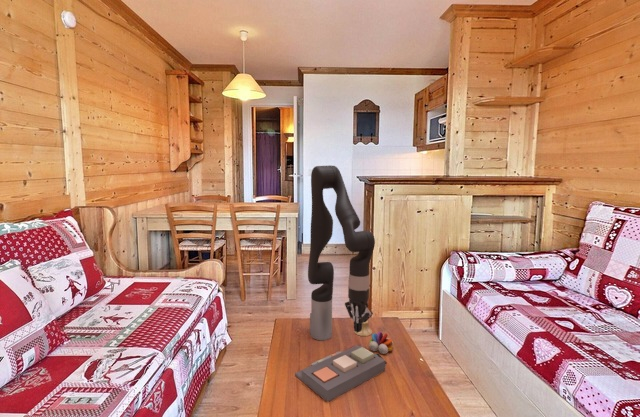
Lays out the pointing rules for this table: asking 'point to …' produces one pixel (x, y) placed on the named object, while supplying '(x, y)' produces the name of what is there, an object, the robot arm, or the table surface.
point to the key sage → (362, 355)
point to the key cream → (344, 364)
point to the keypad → (340, 374)
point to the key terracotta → (325, 374)
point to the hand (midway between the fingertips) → (357, 331)
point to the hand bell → (364, 330)
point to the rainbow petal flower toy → (380, 343)
